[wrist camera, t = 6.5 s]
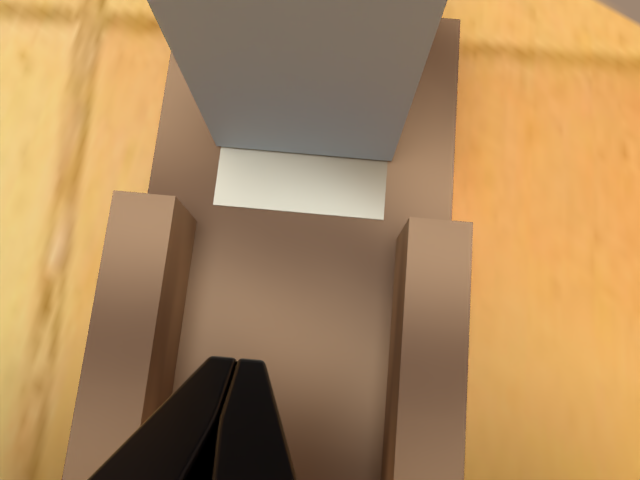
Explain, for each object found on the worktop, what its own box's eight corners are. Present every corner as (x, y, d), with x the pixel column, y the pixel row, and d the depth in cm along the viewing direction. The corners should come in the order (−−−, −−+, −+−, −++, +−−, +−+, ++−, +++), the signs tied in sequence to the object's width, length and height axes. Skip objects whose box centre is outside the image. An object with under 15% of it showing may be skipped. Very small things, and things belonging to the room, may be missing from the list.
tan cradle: (430, 548, 15) (459, 597, 12) (105, 515, 15) (48, 554, 12) (454, 34, 18) (482, -35, 15) (186, 12, 18) (158, -61, 15)
